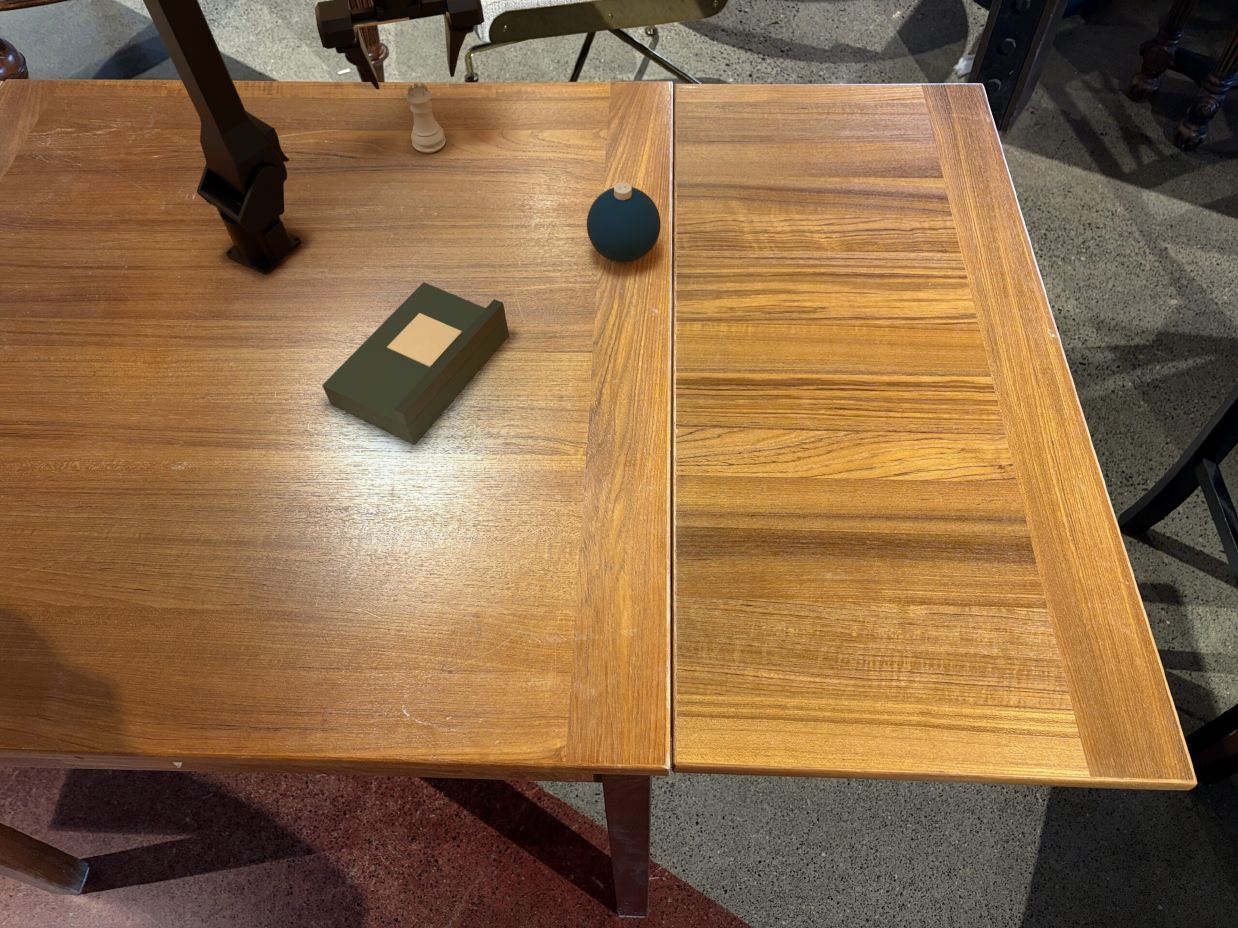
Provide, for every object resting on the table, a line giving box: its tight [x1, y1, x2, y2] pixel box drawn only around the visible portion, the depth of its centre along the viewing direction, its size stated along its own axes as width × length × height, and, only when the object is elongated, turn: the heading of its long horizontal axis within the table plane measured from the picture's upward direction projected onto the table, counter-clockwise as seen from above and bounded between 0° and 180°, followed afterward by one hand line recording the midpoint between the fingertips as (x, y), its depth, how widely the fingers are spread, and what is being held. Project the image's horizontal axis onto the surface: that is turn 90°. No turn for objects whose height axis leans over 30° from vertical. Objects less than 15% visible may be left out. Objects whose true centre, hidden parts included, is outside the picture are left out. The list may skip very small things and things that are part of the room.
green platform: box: [322, 281, 510, 446], centre depth 93 cm, size 11×17×5 cm, turn 150°
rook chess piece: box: [405, 82, 447, 154], centre depth 115 cm, size 4×4×8 cm
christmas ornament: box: [586, 181, 661, 264], centre depth 101 cm, size 8×8×10 cm
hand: (414, 81), depth 110 cm, fingers open, 9 cm apart
